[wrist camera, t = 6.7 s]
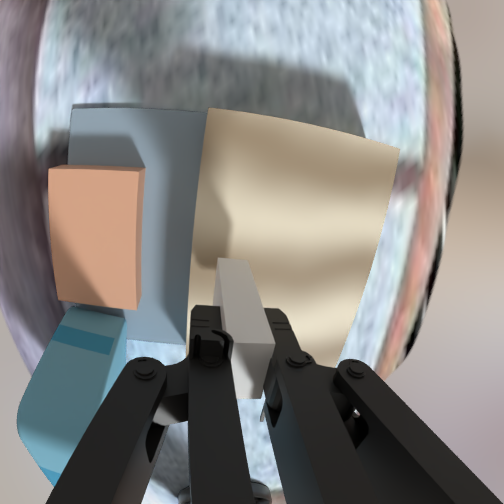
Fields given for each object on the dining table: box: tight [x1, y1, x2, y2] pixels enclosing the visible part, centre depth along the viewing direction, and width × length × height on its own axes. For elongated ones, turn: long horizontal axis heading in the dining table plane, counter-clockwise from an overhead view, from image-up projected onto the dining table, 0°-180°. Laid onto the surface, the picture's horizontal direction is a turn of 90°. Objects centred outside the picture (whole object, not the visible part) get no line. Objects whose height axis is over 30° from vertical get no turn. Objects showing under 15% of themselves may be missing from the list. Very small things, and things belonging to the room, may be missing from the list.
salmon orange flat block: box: [48, 165, 146, 310], centre depth 17 cm, size 9×6×2 cm, turn 171°
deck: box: [186, 108, 400, 368], centre depth 19 cm, size 17×11×4 cm, turn 171°
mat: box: [68, 108, 208, 345], centre depth 19 cm, size 17×9×1 cm, turn 171°
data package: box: [17, 306, 127, 487], centre depth 17 cm, size 12×4×12 cm, turn 164°
